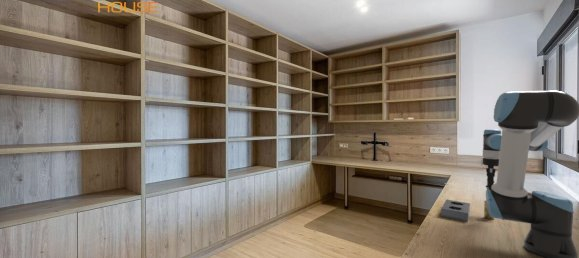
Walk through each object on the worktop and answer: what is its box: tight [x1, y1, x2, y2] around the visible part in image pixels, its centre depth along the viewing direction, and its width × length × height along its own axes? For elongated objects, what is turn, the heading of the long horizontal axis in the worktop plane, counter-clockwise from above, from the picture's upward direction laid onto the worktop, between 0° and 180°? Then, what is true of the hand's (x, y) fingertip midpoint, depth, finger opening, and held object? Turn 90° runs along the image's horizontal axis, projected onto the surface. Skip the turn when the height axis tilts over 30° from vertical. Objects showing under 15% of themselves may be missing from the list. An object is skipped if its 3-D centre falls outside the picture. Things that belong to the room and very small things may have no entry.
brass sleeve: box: [483, 200, 495, 221], centre depth 141 cm, size 4×4×9 cm
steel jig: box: [440, 199, 471, 223], centre depth 147 cm, size 22×12×4 cm, turn 143°
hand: (489, 197), depth 141 cm, fingers open, 13 cm apart
